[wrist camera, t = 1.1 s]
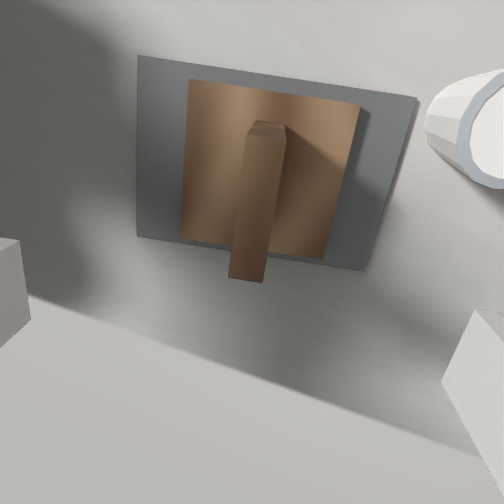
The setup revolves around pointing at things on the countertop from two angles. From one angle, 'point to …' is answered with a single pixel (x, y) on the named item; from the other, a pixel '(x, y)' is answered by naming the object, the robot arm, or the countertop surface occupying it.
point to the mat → (178, 74)
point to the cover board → (298, 170)
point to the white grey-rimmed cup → (470, 127)
